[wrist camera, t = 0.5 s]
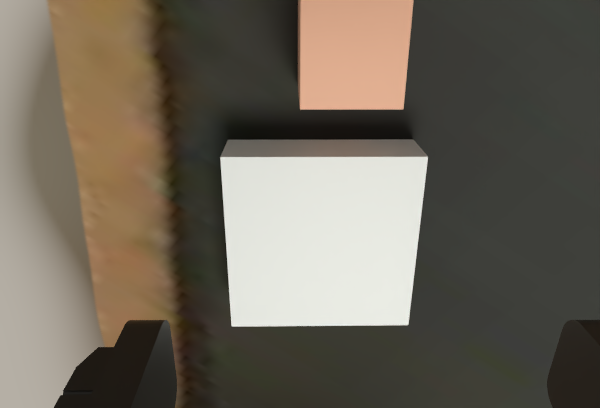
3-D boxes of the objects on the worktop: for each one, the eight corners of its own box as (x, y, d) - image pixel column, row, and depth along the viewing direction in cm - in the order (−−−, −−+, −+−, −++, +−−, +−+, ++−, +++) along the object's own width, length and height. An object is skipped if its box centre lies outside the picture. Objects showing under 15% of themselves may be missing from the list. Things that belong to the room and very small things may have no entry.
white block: (228, 137, 31) (220, 157, 27) (411, 137, 31) (428, 156, 28) (237, 292, 36) (231, 326, 32) (396, 291, 36) (408, 325, 32)
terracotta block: (298, -4, 27) (300, -4, 21) (384, -4, 27) (413, -4, 21) (297, 84, 29) (300, 109, 23) (378, 84, 29) (403, 109, 23)
